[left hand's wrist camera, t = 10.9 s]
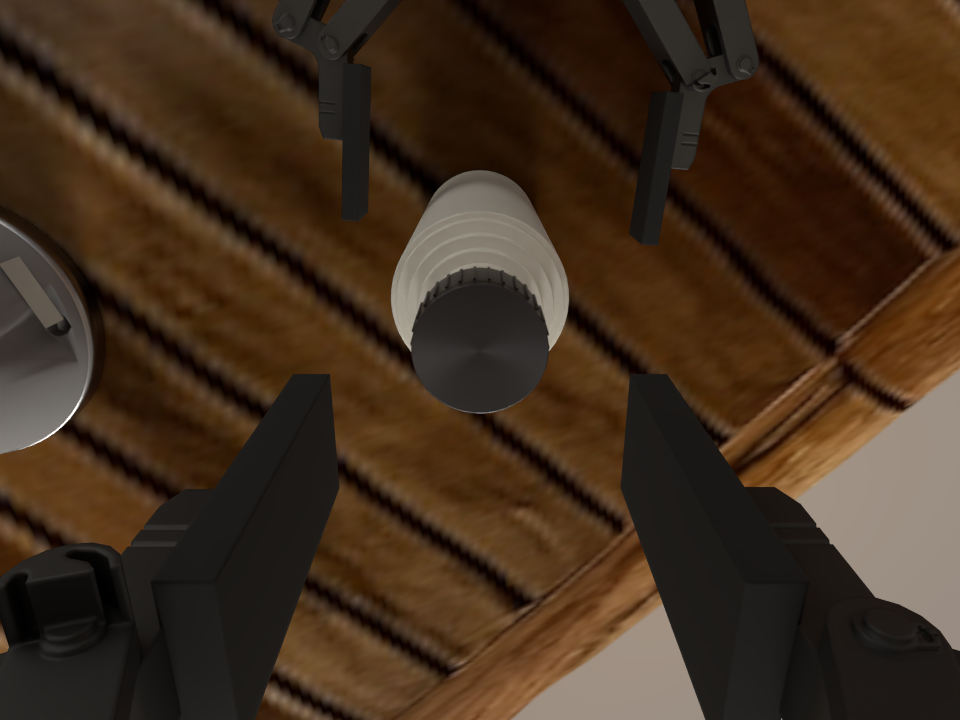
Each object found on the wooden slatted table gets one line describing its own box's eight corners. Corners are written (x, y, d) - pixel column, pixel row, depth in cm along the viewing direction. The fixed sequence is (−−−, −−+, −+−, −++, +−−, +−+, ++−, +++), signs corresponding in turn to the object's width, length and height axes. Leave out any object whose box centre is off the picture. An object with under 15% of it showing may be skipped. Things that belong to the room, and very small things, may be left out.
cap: (554, 274, 21) (562, 291, 19) (533, 395, 22) (538, 423, 20) (422, 256, 20) (416, 272, 18) (409, 380, 22) (402, 406, 20)
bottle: (544, 178, 37) (609, 253, 19) (526, 289, 40) (568, 455, 21) (430, 162, 37) (379, 222, 18) (418, 275, 39) (362, 430, 21)
